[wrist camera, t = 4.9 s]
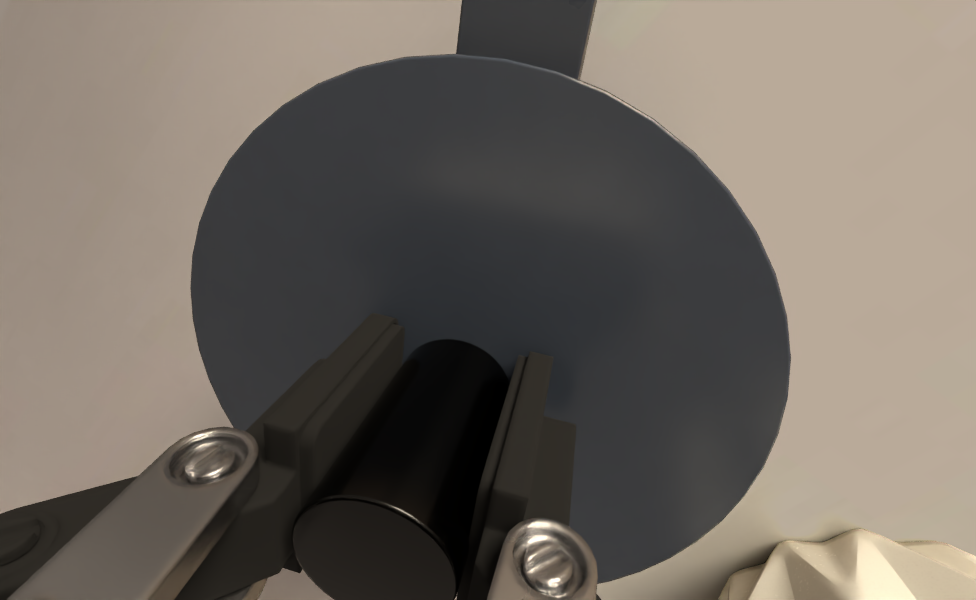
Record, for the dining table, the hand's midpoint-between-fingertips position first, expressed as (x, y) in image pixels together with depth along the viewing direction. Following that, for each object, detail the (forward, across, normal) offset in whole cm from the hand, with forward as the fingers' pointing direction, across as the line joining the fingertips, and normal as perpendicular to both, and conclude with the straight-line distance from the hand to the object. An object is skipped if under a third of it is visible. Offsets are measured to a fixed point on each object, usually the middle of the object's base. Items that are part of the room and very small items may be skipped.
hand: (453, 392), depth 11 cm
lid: (+1, 0, 0) cm, 1 cm away
